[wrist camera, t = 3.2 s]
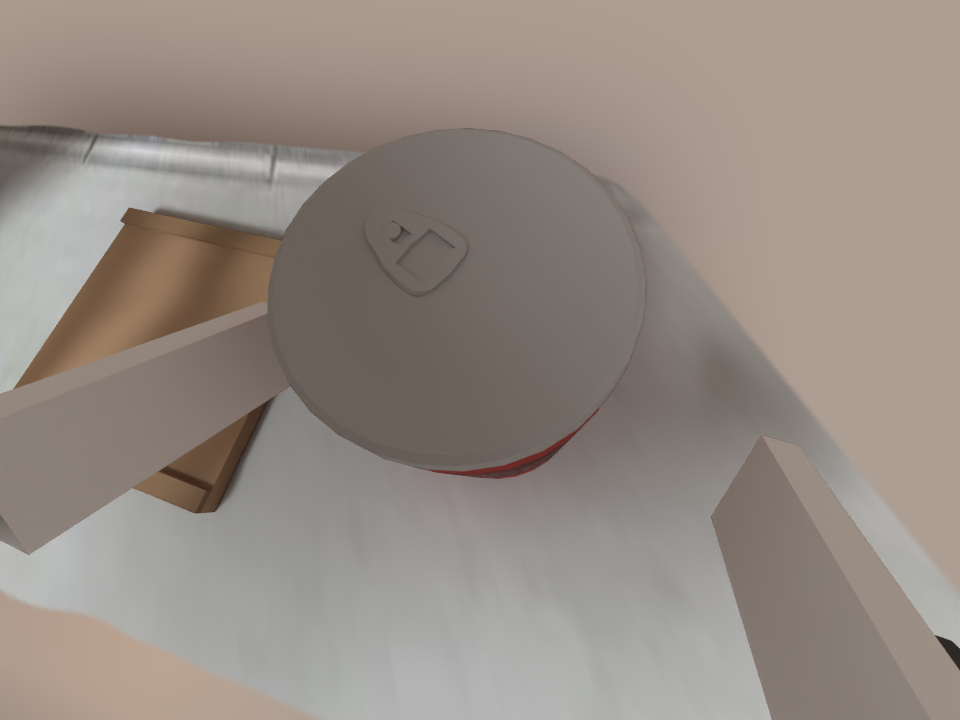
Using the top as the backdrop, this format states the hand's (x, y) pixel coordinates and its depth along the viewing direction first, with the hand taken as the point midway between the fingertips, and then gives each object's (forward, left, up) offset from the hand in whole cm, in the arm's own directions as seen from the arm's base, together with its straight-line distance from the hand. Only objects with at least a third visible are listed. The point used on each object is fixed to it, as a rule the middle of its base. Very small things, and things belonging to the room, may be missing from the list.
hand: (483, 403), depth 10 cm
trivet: (-19, 0, -7) cm, 20 cm away
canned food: (-1, +2, -7) cm, 8 cm away
